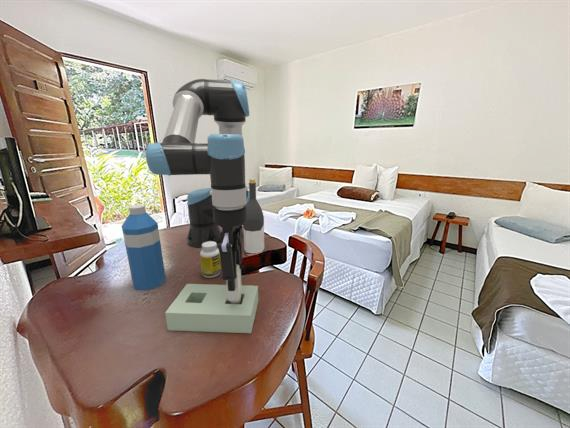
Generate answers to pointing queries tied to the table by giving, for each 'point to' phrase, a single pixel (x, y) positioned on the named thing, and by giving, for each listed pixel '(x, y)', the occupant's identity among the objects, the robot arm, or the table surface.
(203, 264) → the pill bottle
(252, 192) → the wine bottle
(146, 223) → the water bottle
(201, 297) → the socket block
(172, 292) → the table surface
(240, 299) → the dowel
